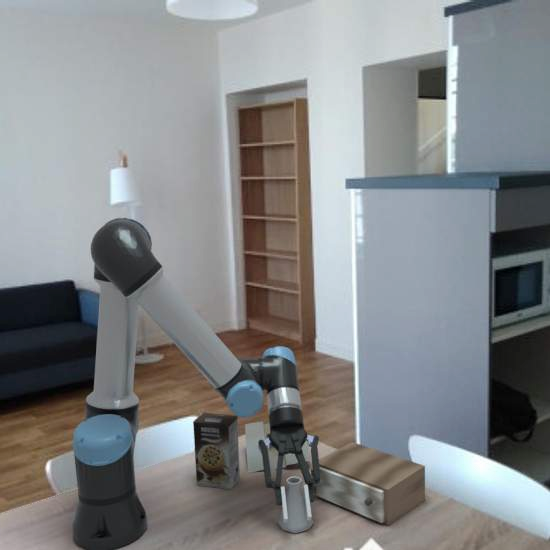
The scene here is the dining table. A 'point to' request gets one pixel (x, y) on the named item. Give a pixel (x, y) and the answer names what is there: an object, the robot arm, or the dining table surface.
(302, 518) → the flask
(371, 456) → the cabinet
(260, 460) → the grooved block with hole
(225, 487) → the coffee box
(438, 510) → the dining table surface
